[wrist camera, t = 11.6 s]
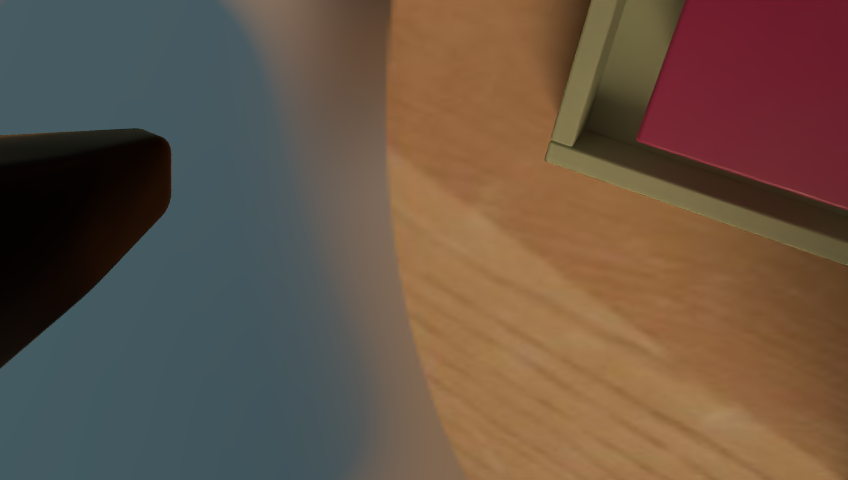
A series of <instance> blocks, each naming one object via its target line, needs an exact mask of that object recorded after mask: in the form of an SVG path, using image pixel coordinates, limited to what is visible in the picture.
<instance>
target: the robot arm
mask: <svg viewBox="0 0 848 480" xmlns="http://www.w3.org/2000/svg"><path fill="white" fill-rule="evenodd" d="M170 198H171V148H170V146H169V143H168V142H167V141H166V139H164V138H163V137H160V136H158V135H155V134H153V133H150V132H148V131H145V130H143V129H135V128H133V129H114V130H95V131H76V132H57V133H37V134H19V135H0V368H1V367H3V366H4V365H5V364H6V363H7V362H8V361H9V360H11V359H12V358H13V357H14V356H15V355H17V354H18V353H19V352H20V351H21V350H22V349H23V348H25V347H26V346H27V345H28V344H29V343H31V342H32V341H33V340H34V339H35V338H36V337H38V336H39V335H40V334H41V333H42V332H43V331H45V330H46V329H47V328H48V327H49V326H50V325H52V324H53V323H54V322H55V321H56V320H57V319H59V318H60V317H61V316H62V315H63V314H64V313H66V312H67V311H68V310H69V309H70V308H71V307H72V306H74V304H76V303H77V302H78V301H79V300H81V299H82V298H83V297H84V296H85V295H86V294H87V293H88V292H89V291H90V290H91V289H92V288H93V287H94V286H95V285H96V284H97V283H98V282H99V281H100V280H101V279H102V278H103V277H104V276H105V275H106V274H107V273H108V272H109V271H110V270H111V269H112V268H113V267H114V266H115V265H116V264H117V263H118V262H119V261H120V259H121V258H122V257H123V256H124V255H125V254H126V253H127V252H128V251H129V250H130V249H131V248H132V247H133V246H134V245H135V244H136V242H138V241H139V239H140V238H141V237H142V236H143V235H144V234H145V233H146V232H147V231H148V230H149V229H150V228H151V227H152V226H153V225H154V224H155V223H156V222H157V220H158V219H159V218H160V217H161V216H162V215H163V214H164V213H165V211H166V209H167V208H168V205H169V203H170Z"/></svg>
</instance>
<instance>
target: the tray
mask: <svg viewBox="0 0 848 480" xmlns="http://www.w3.org/2000/svg"><path fill="white" fill-rule="evenodd" d="M684 2H685V0H591V2H590V6H589V9H588V13H587V16H586V19H585V23H584V26H583V30H582V33H581V37H580V40H579V43H578V47H577V50H576V54H575V57H574V60H573V64H572V67H571V71H570V74H569V78H568V81H567V84H566V88H565V91H564V95H563V98H562V101H561V105H560V108H559V112H558V115H557V118H556V122H555V125H554V129H553V132H552V136H551V141H550V142H549V146H548V149H547V153H546V156H545V161H546V162H549V163H552V164H555V165H558V166H561V167H564V168H567V169H569V170H572V171H575V172H578V173H581V174H584V175H587V176H590V177H592V178H595V179H598V180H601V181H604V182H607V183H610V184H613V185H615V186H618V187H621V188H624V189H627V190H630V191H633V192H636V193H639V194H641V195H644V196H647V197H650V198H653V199H656V200H659V201H662V202H664V203H667V204H670V205H673V206H676V207H679V208H682V209H685V210H687V211H690V212H693V213H696V214H699V215H702V216H705V217H708V218H710V219H713V220H716V221H719V222H722V223H725V224H728V225H731V226H733V227H736V228H739V229H742V230H745V231H748V232H751V233H754V234H757V235H759V236H762V237H765V238H768V239H771V240H774V241H777V242H780V243H782V244H785V245H788V246H791V247H794V248H797V249H800V250H803V251H805V252H808V253H811V254H814V255H817V256H820V257H823V258H826V259H828V260H831V261H834V262H837V263H840V264H843V265H846V266H848V211H847V210H844V209H841V208H838V207H835V206H832V205H829V204H826V203H823V202H820V201H817V200H814V199H811V198H808V197H805V196H801V195H798V194H795V193H792V192H789V191H786V190H783V189H780V188H777V187H774V186H771V185H768V184H765V183H762V182H759V181H756V180H753V179H750V178H747V177H744V176H741V175H738V174H735V173H732V172H728V171H725V170H722V169H719V168H716V167H713V166H710V165H707V164H704V163H701V162H698V161H695V160H692V159H689V158H686V157H683V156H680V155H677V154H674V153H671V152H668V151H665V150H662V149H659V148H656V147H652V146H649V145H646V144H643V143H640V142H639V141H637V134H638V131H639V128H640V126H641V123H642V120H643V117H644V114H645V112H646V109H647V106H648V103H649V100H650V98H651V95H652V92H653V89H654V86H655V84H656V81H657V78H658V75H659V72H660V70H661V67H662V64H663V61H664V58H665V56H666V53H667V50H668V47H669V44H670V42H671V39H672V36H673V33H674V30H675V28H676V25H677V22H678V19H679V16H680V14H681V11H682V8H683V5H684Z"/></svg>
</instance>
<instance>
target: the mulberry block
mask: <svg viewBox="0 0 848 480" xmlns="http://www.w3.org/2000/svg"><path fill="white" fill-rule="evenodd" d="M637 141H639V142H640V143H643V144H646V145H649V146H652V147H656V148H659V149H662V150H665V151H668V152H671V153H674V154H677V155H680V156H683V157H686V158H689V159H692V160H695V161H698V162H701V163H704V164H707V165H710V166H713V167H716V168H719V169H722V170H725V171H728V172H732V173H735V174H738V175H741V176H744V177H747V178H750V179H753V180H756V181H759V182H762V183H765V184H768V185H771V186H774V187H777V188H780V189H783V190H786V191H789V192H792V193H795V194H798V195H801V196H805V197H808V198H811V199H814V200H817V201H820V202H823V203H826V204H829V205H832V206H835V207H838V208H841V209H844V210H847V211H848V0H685V2H684V5H683V8H682V11H681V14H680V16H679V19H678V22H677V25H676V28H675V30H674V33H673V36H672V39H671V42H670V44H669V47H668V50H667V53H666V56H665V58H664V61H663V64H662V67H661V70H660V72H659V75H658V78H657V81H656V84H655V86H654V89H653V92H652V95H651V98H650V100H649V103H648V106H647V109H646V112H645V114H644V117H643V120H642V123H641V126H640V128H639V131H638V134H637Z"/></svg>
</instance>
